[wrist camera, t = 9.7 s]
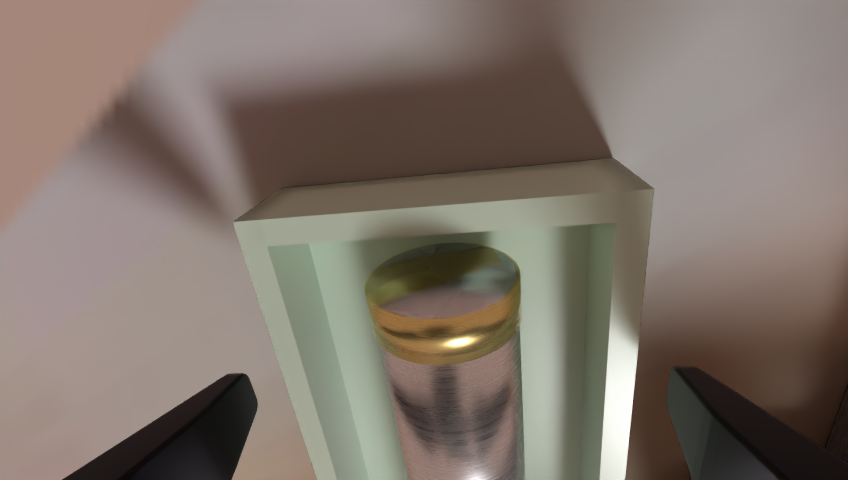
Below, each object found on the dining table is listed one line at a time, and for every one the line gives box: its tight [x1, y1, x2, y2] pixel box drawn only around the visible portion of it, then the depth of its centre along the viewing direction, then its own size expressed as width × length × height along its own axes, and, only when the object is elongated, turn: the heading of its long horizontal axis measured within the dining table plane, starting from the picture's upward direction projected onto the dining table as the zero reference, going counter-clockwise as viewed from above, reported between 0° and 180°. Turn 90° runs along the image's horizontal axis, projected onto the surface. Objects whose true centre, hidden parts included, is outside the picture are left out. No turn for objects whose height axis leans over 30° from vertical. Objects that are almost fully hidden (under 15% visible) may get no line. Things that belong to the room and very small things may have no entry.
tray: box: [233, 158, 654, 480], centre depth 12 cm, size 16×8×2 cm, turn 7°
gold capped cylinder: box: [365, 243, 525, 480], centre depth 11 cm, size 12×3×3 cm, turn 7°
